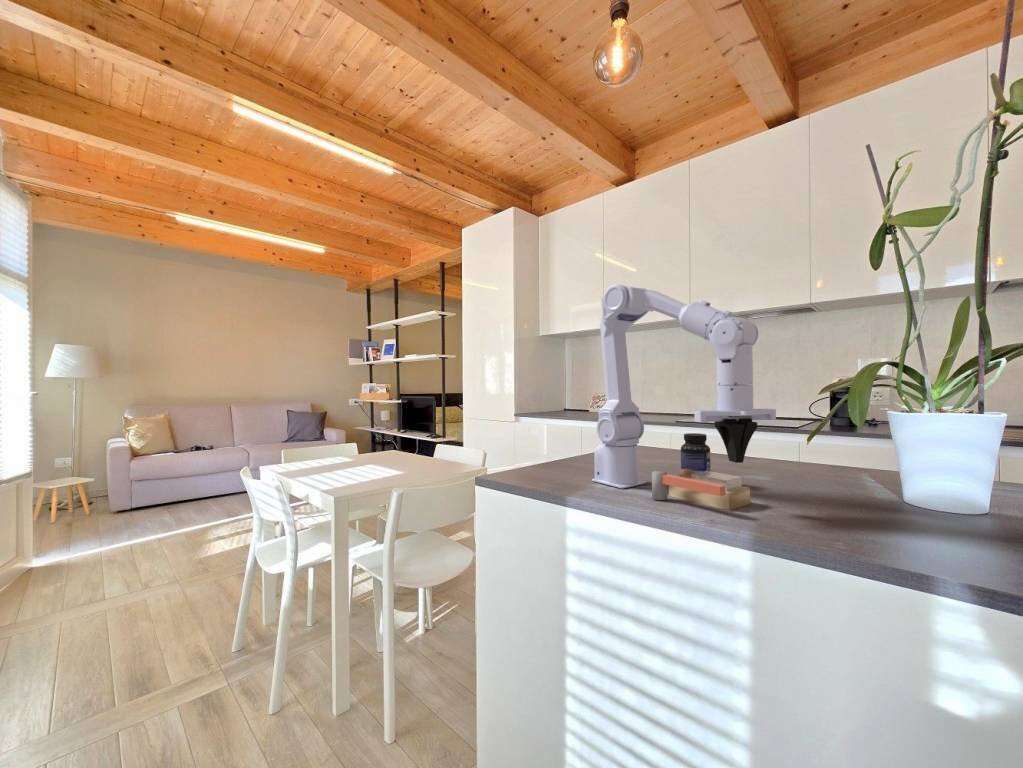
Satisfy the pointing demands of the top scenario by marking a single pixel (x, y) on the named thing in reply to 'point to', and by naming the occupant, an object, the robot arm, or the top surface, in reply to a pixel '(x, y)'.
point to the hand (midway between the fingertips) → (736, 461)
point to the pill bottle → (695, 453)
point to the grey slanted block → (719, 479)
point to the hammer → (681, 485)
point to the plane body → (726, 502)
